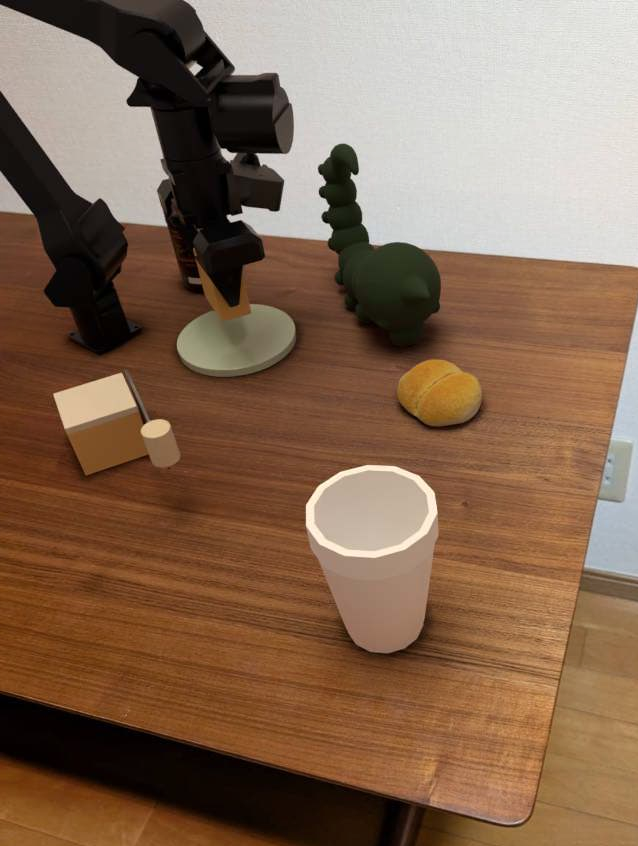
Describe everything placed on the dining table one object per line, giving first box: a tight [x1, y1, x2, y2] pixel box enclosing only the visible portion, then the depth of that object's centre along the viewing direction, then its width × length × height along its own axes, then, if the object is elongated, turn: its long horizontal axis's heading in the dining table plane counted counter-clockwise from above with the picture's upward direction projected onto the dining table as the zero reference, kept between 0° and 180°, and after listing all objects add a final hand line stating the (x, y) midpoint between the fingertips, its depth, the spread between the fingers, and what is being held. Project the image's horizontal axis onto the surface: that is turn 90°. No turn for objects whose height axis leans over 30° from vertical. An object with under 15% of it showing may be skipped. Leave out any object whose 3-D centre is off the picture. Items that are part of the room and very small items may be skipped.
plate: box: [176, 303, 297, 378], centre depth 98 cm, size 14×14×1 cm
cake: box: [52, 372, 149, 476], centre depth 84 cm, size 6×7×6 cm
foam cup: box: [305, 464, 440, 654], centre depth 64 cm, size 10×9×13 cm
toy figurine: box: [317, 143, 442, 347], centre depth 94 cm, size 9×19×25 cm
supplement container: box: [161, 205, 204, 293], centre depth 105 cm, size 7×7×10 cm
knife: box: [123, 369, 181, 470], centre depth 81 cm, size 17×3×9 cm, turn 26°
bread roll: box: [396, 358, 483, 427], centre depth 87 cm, size 8×9×4 cm
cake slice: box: [193, 248, 251, 322], centre depth 93 cm, size 6×4×6 cm, turn 26°
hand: (225, 292), depth 94 cm, fingers closed on cake slice, 6 cm apart
